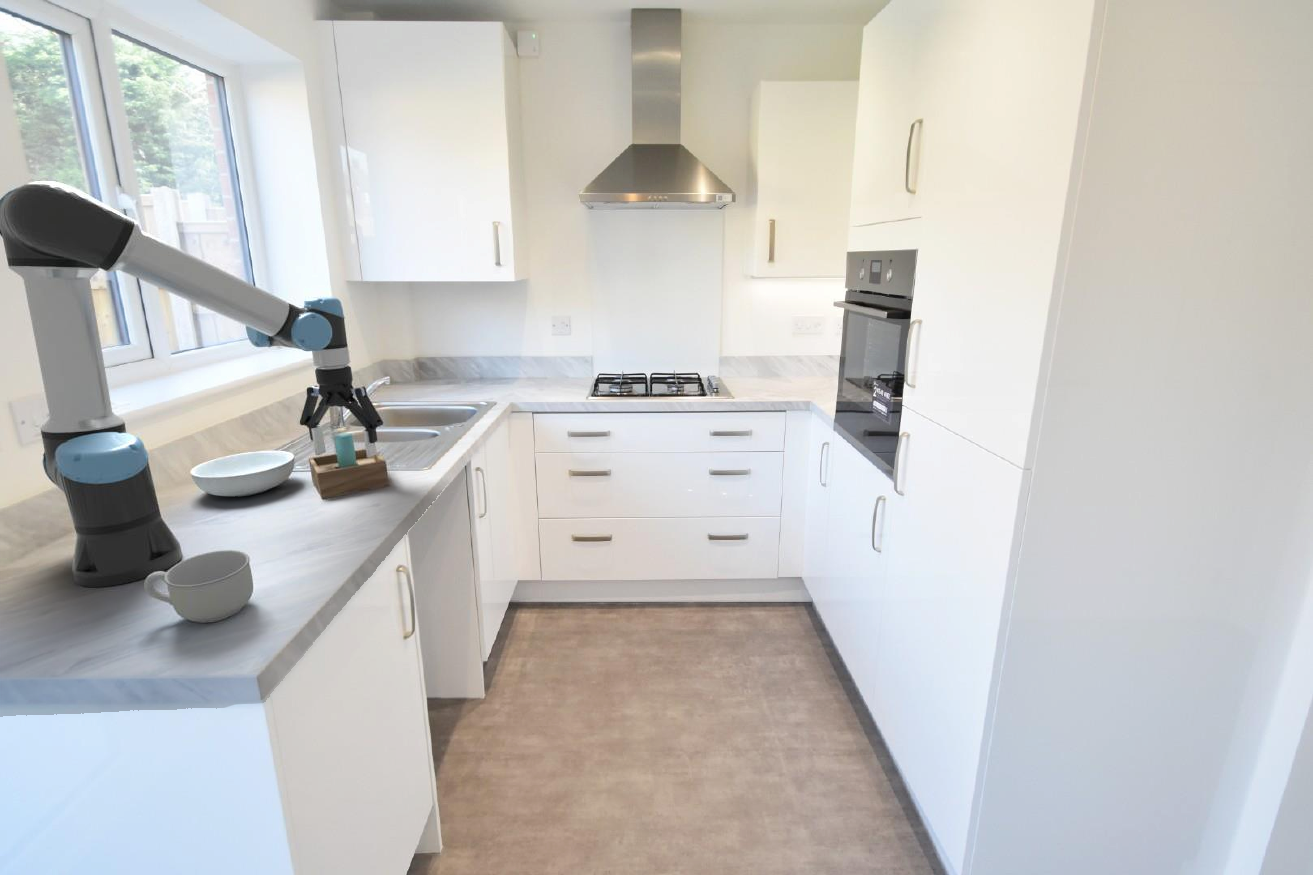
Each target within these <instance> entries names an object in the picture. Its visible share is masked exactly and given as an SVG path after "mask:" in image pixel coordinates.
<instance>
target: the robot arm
mask: <svg viewBox="0 0 1313 875" xmlns="http://www.w3.org/2000/svg"><path fill="white" fill-rule="evenodd" d="M0 237H1V238H2V240H3V241H2V242H3V245H4V251H5V255H6V260H7V267H8V270H9V269H10V270H11V271H13V272H14V273H16V275H18V276H20V277H21V279H23V284H24V289H25V295H26V300H27V306H28V310H29V315H30V320H31V326H32V330H33V337H34V342H35V346H36V351H37V357H38V361H39V362H38V363H39V367H40V373H41V377H42V378H41V379H42V382H43V389H44V394H45V398H46V403H47V409H48V410H47V411H48V414H49V415H48V416H49V417H48V419H47V421H45V422H44V424H42V425H41V426H40V427H39V428H40V433H41V434H40V435H41V438H42V444H43V451H44V452H43V454H42V457H43V458H42V466H43V470H44V473H45V475H46V476H47V478H48V479H49V480H50V481H51V482H52V483H53V484H54V485H55V486H57V487H58V488H59V489H60V490H61V491H62V492H63V493H64V495H65V498H66V501H67V504H68V507H69V512H70V515H71V516H70V517H71V520H72V523H73V527H74V530H75V534H76V540H75V546H74V553H73V560H72V566H71V571H72V576H73V578H74V582H75V583H76V584H77V585H79V586H81V587H82V586H83V587H88V588H89V587H90V588H96V587H97V588H100V587H111V586H117V585H122V584H127V583H130V582H131V583H132V582H135V581H139V580H142V579H146V578H147V577H148V576H149V575H150V574H152V573H154V572H157V571H164V572H165V570H169V568H170V569H171V568H172V567H173V566H175V565H176V564H178V563H179V561H180V560H181V559H182V558H183V552H182V547H181V544H180V542H179V540H178V539H177V537H176V536H175V535H174V533H173V531H172V530H171V528H170V527H169V526H168V525H167V524H166V522H165V521H164V519H163V517H162V515H161V511H160V510H161V509H160V506H159V502H158V498H157V493H156V490H155V489H156V488H155V484H154V479H153V476H152V473H151V472H152V471H151V468H150V462H149V453H148V451H147V449H146V447H145V444H144V442H143V439H141V438H140V437H138V436H137V435H134V434H132V433H127V429H126V423H125V420H124V419H123V418H122V417H120V416H118V415H117V414H116V413H114V411H113V408H112V401H111V397H110V396H111V395H110V391H109V384H108V378H107V373H106V368H105V361H104V360H105V359H104V355H103V351H102V350H103V349H102V345H101V344H102V343H101V339H100V332H99V326H98V321H97V320H98V319H97V313H96V307H95V303H94V297H93V291H92V285H91V279H92V277H94V276H95V275H96V274H97V273H98V272H99V271H100V270H103V271H105V272H108V273H110V272H115V271H120V272H123V273H125V274H127V275H130V276H132V277H134V278H137V279H139V280H140V281H143V282H146V283H148V284H150V285H153V286H155V287H157V288H159V289H162V290H164V291H165V292H166V291H167V292H168V293H170V294H173V295H175V296H178V297H180V298H182V299H185V300H186V301H189V302H191V303H194V304H196V305H198V306H200V307H202V308H205V309H207V310H210V311H212V312H215V313H217V314H219V315H221V316H223V317H226V318H227V319H230V320H232V321H235V322H237V323H239V324H242V325H244V326H245V330H246V334H247V338H248V340H249V342H250V344H251V345H253V346H254V347H256V348H273V347H286V348H291V349H297V350H301V351H304V352H311V353H312V354H311V355H312V361H313V366H314V367H316V368H315V369H314V371H315V379H316V383H317V385H318V386H317V385H312V386H309V387H306V399H305V402H304V405H303V409H302V412H301V416H300V420H299V424H300V426H305V427H307V428H308V431H309V438H310V441H311V442H313V447H314V448H313V449H314V454H315V456H321V455H322V454H325V453H327V451H326V444H325V438H324V433H323V432H324V431H323V427H322V426H321V424H320V423H321V421H322V419H323V418H324V416H325V415H326V413H327V411H328V409H329V408H330V407H339V408H342V407H343V408H345V409H346V410H348V411H349V412H350V413H351V414H352V415H353V416H354V417H355V418H356V419H357V420H358V422H359V424H361V425H362V426H363V427H364V428H365V429H364V430H363V431H362V432H363V438H364V439H363V440H364V445H365V446H364V447H365V449H366V454H367V457H368V458H370V457H372V456H374V455H376V454H377V453H378V452H377V447H376V443H377V441H378V435H377V428H379V427H381V426H383V425H384V422H383V419H382V418H381V416H380V414H379V413H378V411H377V409H376V408H375V406H374V404H373V403H372V401H371V399H370V397H369V396H368V393H367V392H368V391H367V389H366V387H365V386H359V387H356V388H354V386H353V373H352V367H351V366H350V365H349V364H350V363H351V360H350V359H351V358H350V353H349V352H350V351H349V346H348V340H347V331H346V325H345V324H346V322H345V319H346V318H345V314H344V310H343V305H342V303H341V300H340V299H339V298H337V297H332V296H331V297H330V296H329V297H313V298H308V297H307V298H306V299H305V300H304V301H303V303H304V305H303V307H301V308H300V307H298V306H296V305H294V304H292V303H290V302H287V301H286V300H284V299H281V298H280V297H278V296H275V295H274V294H272V293H269V292H268V291H265V289H264V290H263V289H262V288H260V287H258V286H255V285H254V284H251V283H249V282H247V281H246V280H243V279H241V278H239V277H237V276H235V275H232V274H231V273H229V272H226V271H225V270H222V269H221V268H219V267H217V266H215V265H213V264H210V263H209V262H206V261H205V260H202V259H200V258H198V257H196V256H195V255H192V254H190V253H188V252H186V251H184V250H182V249H181V248H179V247H177V246H174V245H171V244H170V243H168V242H166V241H163V240H162V239H159V238H158V237H155V236H153V235H152V234H150V233H147V232H145V231H143V230H142V229H141V228H140V226H139V224H138V222H137V220H134V219H133V218H131V217H130V216H127V215H124V214H123V213H121V212H119V211H117V210H115V209H113V208H111V207H110V206H108V205H107V204H104V203H102V202H101V201H99V200H97V199H95V198H94V197H92V196H90V195H88V194H86V193H85V192H83V191H81V190H80V189H77V188H75V187H72V186H70V185H67V184H65V183H60V182H56V181H49V180H48V181H47V180H41V181H39V180H37V181H33V182H28V183H25V184H23V185H21V186H19V187H16V188H14V189H12V190H11V189H10V190H9V191H7V193H5V194H3V196H2V197H0ZM319 396H320V397H321V400H320V401H319V402H318V400H319ZM317 403H318V406H317ZM316 406H317V407H316ZM315 409H316V410H315ZM376 452H377V453H376Z"/></svg>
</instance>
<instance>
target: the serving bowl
mask: <svg viewBox="0 0 1313 875" xmlns="http://www.w3.org/2000/svg"><path fill="white" fill-rule="evenodd" d="M294 467H295V455H294V453H292V452H289V451H284V450H283V451H282V450H261V451H249V452H242V453H238V454H236V453H235V454H231V455H226V456H222V457H219V458H215V459H211V460H208V461H206V462H202V463H199V464H198V465H196V466H195V467H193V468H192V469H191V470H190V472H189V474H190V476H191V479H192V480H193V482H194V484H195V485H196V486H197V487H198V489H200V490H202V491H203V492H205V493H207V494H209V495H213V496H220V497H235V496H238V497H247V496H253V495H258V494H261V493H263V492H265V491H268V490H270V489H273V488H276V487H277V486H279V485H280V484H282V483H284V482H285V481H286V480H288V478H289V477H290V476H291V474H292V473H293V470H294Z"/></svg>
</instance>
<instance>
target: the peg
mask: <svg viewBox="0 0 1313 875" xmlns="http://www.w3.org/2000/svg"><path fill="white" fill-rule="evenodd" d="M333 440H334V448H335V454H337V460H338V467H339V469H340V468H346V467H352V466H357V462H356V455H355V445H354V443H355V442H354V436H353V434H352V433H340V434H336V435H334V436H333Z"/></svg>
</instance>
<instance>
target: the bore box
mask: <svg viewBox="0 0 1313 875" xmlns="http://www.w3.org/2000/svg"><path fill="white" fill-rule="evenodd" d="M376 453H377V454H376V455H374V456H372V457H370V458H368V457H367V454H366V448H363V449H356V450H355V455H356V462H357V466H352V467H346V468H340V469H339V467H338V460H337V454H336V453H332V454H325V455H318V456H312V457H308V464H309V468H310V473H311V474H310V475H311V481H312V483H313V486H314V487H315V488H316V491H317V493H318V494H319V497H320V498H321V499H327V498H332V497H338V496H341V495H346V494H347V495H348V494H352V493H358V492H363V491H364V492H365V491H368V490H374V489H377V488H384V487H388V486H389V487H390V482H389V476H388V467H387V466H388V465H387V460H385V459H384V458H383V456H381V454H380V453H378V452H377V451H376Z"/></svg>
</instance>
